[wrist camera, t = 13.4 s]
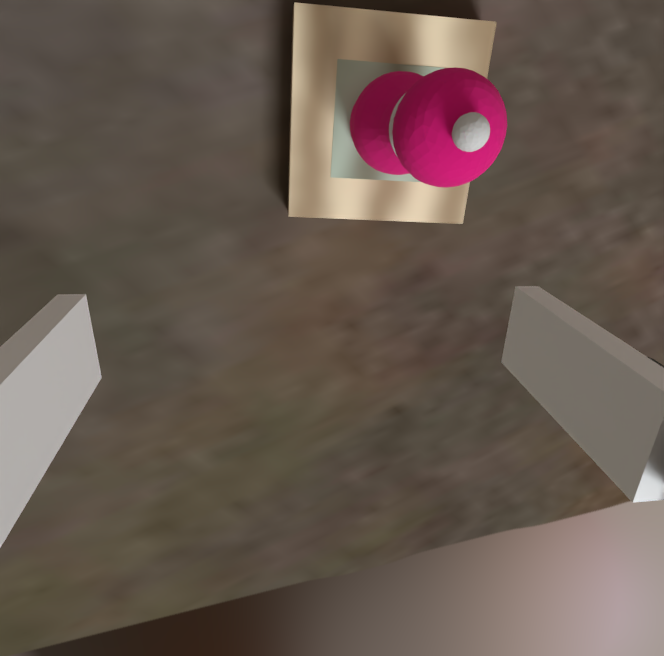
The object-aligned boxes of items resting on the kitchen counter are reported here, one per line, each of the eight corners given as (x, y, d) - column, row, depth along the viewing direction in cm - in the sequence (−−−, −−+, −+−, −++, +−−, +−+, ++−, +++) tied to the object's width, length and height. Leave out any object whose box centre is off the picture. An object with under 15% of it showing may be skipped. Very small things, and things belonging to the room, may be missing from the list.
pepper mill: (445, 112, 41) (583, 113, 23) (393, 185, 43) (481, 239, 25) (378, 54, 39) (472, 4, 21) (326, 134, 41) (370, 153, 23)
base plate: (287, 210, 46) (288, 216, 43) (292, 10, 40) (294, 2, 37) (451, 217, 48) (462, 223, 45) (481, 27, 42) (496, 21, 39)
